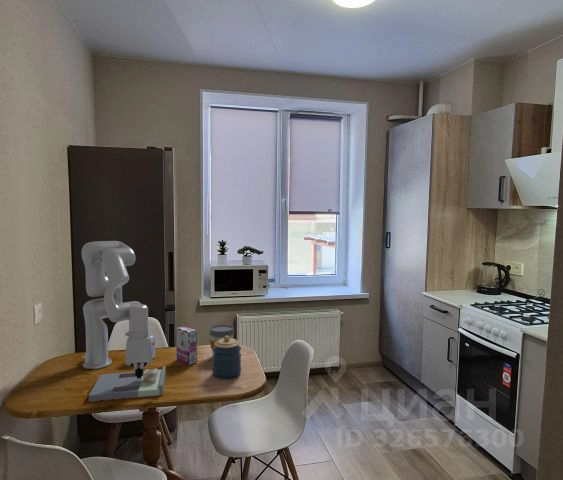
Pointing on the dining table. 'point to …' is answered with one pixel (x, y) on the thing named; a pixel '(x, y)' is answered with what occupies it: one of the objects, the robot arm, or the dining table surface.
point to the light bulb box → (153, 345)
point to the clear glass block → (150, 375)
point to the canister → (226, 358)
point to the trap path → (126, 386)
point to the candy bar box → (187, 345)
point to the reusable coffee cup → (220, 333)
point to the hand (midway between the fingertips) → (139, 377)
